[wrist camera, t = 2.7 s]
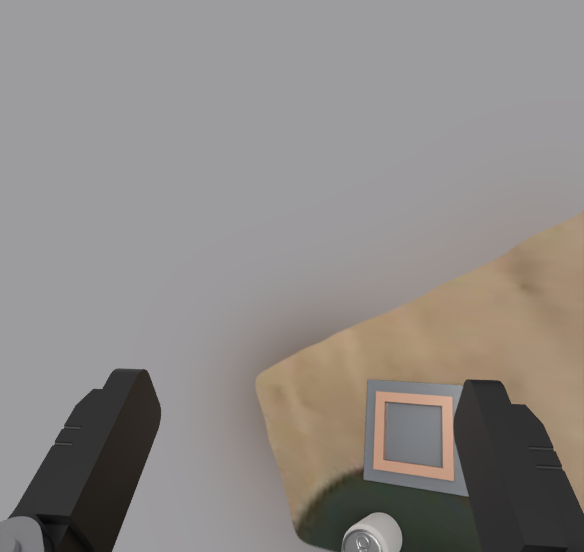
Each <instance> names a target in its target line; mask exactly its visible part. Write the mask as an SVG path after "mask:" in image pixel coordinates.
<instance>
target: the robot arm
mask: <svg viewBox="0 0 584 552" xmlns="http://www.w3.org/2000/svg"><path fill="white" fill-rule="evenodd" d="M160 419H161V407H160V403H159V401H158V398H157V396H156V392H155V389H154V387H153V384H152V381H151V378H150V376H149V373H148V372H147V370H144V369H115V370H114V371H113V372H112V373H111V374H110V376H109V378H108V380H107V381H106V384H105V385H104V387H103V389H93V390H92V391H91V392H90V393H89V394H88V395H86V396H85V397H84V398H83V399H82V400H81V401H80V402H79V403H78V404H77V405H76V406H75V408H74V410H73V411H72V413H71V415H70V416H69V418H68V420H67V421H66V423H65V425H64V426H65V427H64V429H62V430H61V432H60V433H59V435H58V437H57V438H56V440H55V445H54V446H52V447H51V449H50V450H49V452H48V454H47V456H46V457H45V459H44V461H43V462H42V464H41V466H40V468H39V469H38V471H37V473H36V474H35V476H34V478H33V480H32V481H31V483H30V485H29V486H28V488H27V490H26V492H25V493H24V495H23V497H22V498H21V500H20V502H19V504H18V505H17V507H16V508H15V510H14V511H13V513H12V514H11V515H10V516H9V518H8V519H7V520H4V521H2V522H0V552H112V550H113V547H114V545H115V542H116V540H117V537H118V534H119V531H120V529H121V526H122V524H123V521H124V518H125V516H126V513H127V510H128V508H129V505H130V503H131V500H132V497H133V495H134V492H135V489H136V487H137V484H138V481H139V479H140V476H141V473H142V471H143V468H144V466H145V463H146V460H147V458H148V454H149V452H150V450H151V447H152V444H153V441H154V439H155V436H156V434H157V431H158V428H159V425H160ZM453 430H454V439H455V444H456V448H457V452H458V456H459V460H460V464H461V468H462V472H463V476H464V480H465V483H466V487H467V491H468V495H469V499H470V503H471V507H472V511H473V515H474V519H475V523H476V527H477V531H478V535H479V539H480V543H481V547H482V551H483V552H584V513H583V511H582V509H581V507H580V505H579V502H578V500H577V498H576V496H575V494H574V491H573V489H572V487H571V485H570V483H569V480H568V478H567V476H566V474H565V471H563V470H562V465H561V463H560V460H559V458H558V456H557V454H556V452H555V451H554V450H553V445H552V443H551V441H550V438H549V436H548V434H547V432H546V430H545V427H544V425H543V424H542V423H541V421H540V420H539V419H538V418H537V417H536V416H535V415H534V414H533V413H532V412H531V411H530V409H529V408H528V407H527V406H526V405H521V404H511V402H510V400H509V397H508V395H507V392H506V390H505V387H504V385H503V384H502V383H501V382H500V381H498V380H466V381H465V383H464V385H463V389H462V392H461V395H460V399H459V402H458V405H457V409H456V412H455V415H454V422H453Z"/></svg>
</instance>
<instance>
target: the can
mask: <svg viewBox="0 0 584 552" xmlns="http://www.w3.org/2000/svg"><path fill="white" fill-rule="evenodd" d="M401 546H402V533H401V530H400V528H399V526H398V524H397V522H396V521H395V520H394V519H393V518H392V517H391V516H389V515H388V514H385V513H380V512H377V513H372V514H370V515H368V516H367V517H365V518H364V519H362V520H361V521H359V522H358V523H356V524H355V525H353V526H352V527H351V528H350V529H349V530H348V531H347V532H346V534H345V536H344V538H343V543H342V549H341V551H342V552H399V551H400V549H401Z"/></svg>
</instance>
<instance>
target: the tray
mask: <svg viewBox="0 0 584 552" xmlns="http://www.w3.org/2000/svg"><path fill="white" fill-rule="evenodd" d="M462 389H463V385H448V384H431V383H415V382H399V381H383V380H368V386H367V410H366V434H365V458H364V480H369V481H376V482H382V483H388V484H394V485H400V486H406V487H413V488H419V489H425V490H431V491H437V492H444V493H450V494H456V495H462V496H468V497H469V495H468V491H467V487H466V483H465V480H464V476H463V472H462V468H461V464H460V460H459V456H458V452H457V448H456V444H455V439H454V430H453V422H454V415H455V412H456V409H457V405H458V402H459V399H460V395H461V392H462Z"/></svg>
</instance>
